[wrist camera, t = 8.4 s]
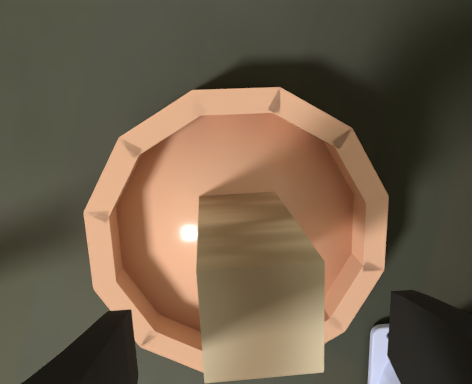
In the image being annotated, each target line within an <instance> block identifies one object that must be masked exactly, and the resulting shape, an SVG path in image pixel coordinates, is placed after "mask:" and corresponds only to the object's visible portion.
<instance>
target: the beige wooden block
mask: <svg viewBox="0 0 472 384" xmlns="http://www.w3.org/2000/svg"><path fill="white" fill-rule="evenodd" d="M196 275H197V288H198V302H199V315H200V328H201V342H202V355H203V369H204V382H205V383H213V382H224V381H235V380H245V379H256V378H267V377H278V376H288V375H299V374H310V373H321V372H324V299H325V261H324V260H323V259H322V257H321V256H320V254H319V253H318V251H317V250H316V249H315V247H314V246H313V244H312V243H311V242H310V240H309V239H308V237H307V236H306V235H305V233H304V232H303V230H302V229H301V228H300V226H299V225H298V223H297V222H296V221H295V219H294V218H293V216H292V215H291V213H290V212H289V211H288V209H287V208H286V206H285V205H284V204H283V202H282V201H281V199H280V198H279V197H278V195H277V194H276V192H260V193H244V194H228V195H212V196H199V210H198V237H197V264H196Z"/></svg>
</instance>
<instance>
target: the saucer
mask: <svg viewBox="0 0 472 384" xmlns="http://www.w3.org/2000/svg"><path fill="white" fill-rule="evenodd" d="M260 192H276V194H277V195H278V197H279V198H280V199H281V201H282V202H283V204H284V205H285V206H286V208H287V209H288V211H289V212H290V213H291V215H292V216H293V218H294V219H295V221H296V222H297V223H298V225H299V226H300V228H301V229H302V230H303V232H304V233H305V235H306V236H307V237H308V239H309V240H310V242H311V243H312V244H313V246H314V247H315V249H316V250H317V251H318V253H319V254H320V256H321V257H322V259H323V260H324V261H325V299H324V343H326V342H328V341H330V340H331V339H333V338H335V337H336V336H338V335H340V334H342V333H343V332H345V331H346V329H347V327H348V326H349V324H350V323H351V321H352V320H353V318H354V317H355V315H356V313H357V312H358V310H359V309H360V307H361V306H362V304H363V303H364V301H365V299H366V298H367V296H368V295H369V293H370V292H371V290H372V289H373V287H374V285H375V284H376V282H377V281H378V279H379V278H380V276H381V275H382V273H383V271H384V267H385V251H386V234H387V218H388V201H389V196H388V194H387V192H386V190H385V188H384V186H383V184H382V183H381V181H380V179H379V177H378V175H377V173H376V171H375V170H374V168H373V166H372V164H371V162H370V160H369V158H368V156H367V155H366V153H365V151H364V149H363V147H362V145H361V143H360V142H359V140H358V138H357V136H356V134H355V132H354V130H353V128H351V127H350V126H348V125H346V124H344V123H342V122H341V121H339V120H337V119H335V118H334V117H332V116H330V115H328V114H327V113H325V112H323V111H321V110H320V109H318V108H316V107H314V106H313V105H311V104H309V103H307V102H305V101H304V100H302V99H300V98H298V97H297V96H295V95H293V94H291V93H290V92H288V91H286V90H284V89H283V88H281V87H267V88H237V89H207V90H192V91H190V92H188V93H187V94H185V95H184V96H182V97H181V98H179V99H178V100H176V101H175V102H173V103H171V104H170V105H168V106H167V107H165V108H164V109H162V110H161V111H159V112H158V113H156V114H155V115H153V116H151V117H150V118H148V119H147V120H145V121H144V122H142V123H141V124H139V125H138V126H136V127H134V128H133V129H131V130H130V131H128V132H127V133H125V134H124V135H122V136H121V137H119V138H118V140H117V143H116V145H115V147H114V149H113V151H112V153H111V155H110V157H109V160H108V162H107V164H106V166H105V168H104V170H103V172H102V174H101V176H100V179H99V181H98V183H97V185H96V187H95V189H94V191H93V193H92V196H91V198H90V200H89V202H88V204H87V206H86V208H85V210H84V220H85V228H86V235H87V243H88V251H89V259H90V266H91V274H92V282H93V289H94V291H95V292H96V293H97V294H98V295H99V297H100V298H101V299H102V300H103V302H104V303H105V304H106V305H107V307H108V308H109V309H110V310H111V311H116V310H130V309H131V311H132V320H133V330H134V339H135V341H136V342H137V344H138V345H139V346H140V347H141V348H144V349H146V350H149V351H151V352H154V353H156V354H159V355H161V356H164V357H166V358H169V359H171V360H174V361H176V362H179V363H181V364H183V365H186V366H188V367H191V368H193V369H196V370H198V371H201V372H203V373H204V369H203V355H202V342H201V328H200V315H199V302H198V288H197V275H196V264H197V237H198V210H199V196H212V195H228V194H244V193H260Z"/></svg>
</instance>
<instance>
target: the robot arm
mask: <svg viewBox="0 0 472 384" xmlns="http://www.w3.org/2000/svg"><path fill="white" fill-rule="evenodd" d="M387 333H389V335H388V336H387ZM137 381H138V368H137V358H136V349H135V339H134V330H133V320H132V311H131V309H130V310H116V311H108V312H107V313H105V314H104V315H103V316H102V317H101V318H99V319H98V320H97V321H96V322H95V323H94V324H93V325H92V326H91V327H89V328H88V329H87V330H86V331H85V332H84V333H83V334H82V335H81V336H79V337H78V338H77V339H76V340H75V341H74V342H73V343H72V344H70V345H69V346H68V347H67V348H66V349H65V350H64V351H62V352H61V353H60V354H59V355H57V356H56V357H55V358H54V359H52V360H51V361H50V362H49V363H47V364H46V365H45V366H44V367H42V368H41V369H40V370H39V371H37V372H36V373H35V374H34V375H32V376H31V377H30V378H28V379H27V380H26V381H24V382H23V383H22V384H137ZM368 384H472V315H471V314H469V313H467V312H464V311H462V310H460V309H458V308H455V307H453V306H451V305H449V304H446V303H444V302H442V301H440V300H437V299H435V298H433V297H430V296H428V295H425V294H423V293H420V292H417V291H414V290H406V291H391V304H390V320H389V324H379V325H376V326H374V327H373V328H372V330H371V333H370V351H369V369H368Z"/></svg>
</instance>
